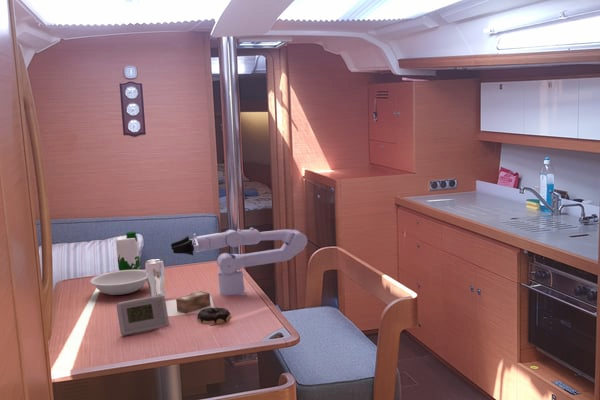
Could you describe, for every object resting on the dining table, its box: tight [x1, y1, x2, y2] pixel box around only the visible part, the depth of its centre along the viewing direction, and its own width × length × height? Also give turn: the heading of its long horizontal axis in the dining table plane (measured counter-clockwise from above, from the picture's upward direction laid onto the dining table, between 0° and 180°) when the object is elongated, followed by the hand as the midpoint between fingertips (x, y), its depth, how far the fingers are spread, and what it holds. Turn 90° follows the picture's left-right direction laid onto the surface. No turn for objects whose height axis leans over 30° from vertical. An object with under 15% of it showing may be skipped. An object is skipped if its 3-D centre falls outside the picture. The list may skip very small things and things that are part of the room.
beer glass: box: [144, 258, 167, 300], centre depth 262 cm, size 7×7×15 cm
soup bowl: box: [89, 269, 147, 296], centre depth 276 cm, size 24×24×7 cm
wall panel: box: [165, 292, 215, 318], centre depth 248 cm, size 22×20×4 cm
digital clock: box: [116, 295, 170, 337], centre depth 227 cm, size 16×9×11 cm, turn 103°
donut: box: [196, 307, 231, 327], centre depth 232 cm, size 11×12×4 cm
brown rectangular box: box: [175, 290, 211, 315], centre depth 244 cm, size 11×5×5 cm, turn 136°
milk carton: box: [115, 231, 141, 271], centre depth 298 cm, size 9×9×20 cm
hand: (172, 248), depth 254 cm, fingers open, 7 cm apart
